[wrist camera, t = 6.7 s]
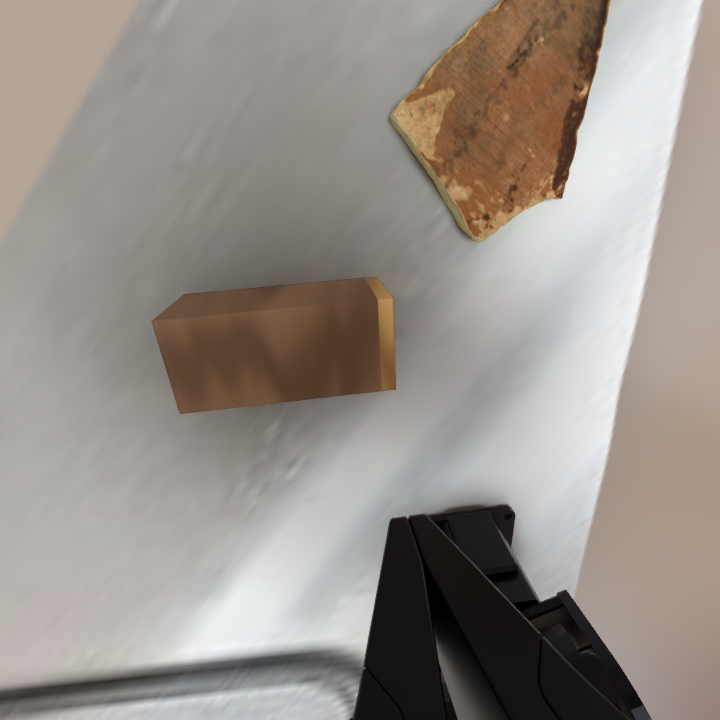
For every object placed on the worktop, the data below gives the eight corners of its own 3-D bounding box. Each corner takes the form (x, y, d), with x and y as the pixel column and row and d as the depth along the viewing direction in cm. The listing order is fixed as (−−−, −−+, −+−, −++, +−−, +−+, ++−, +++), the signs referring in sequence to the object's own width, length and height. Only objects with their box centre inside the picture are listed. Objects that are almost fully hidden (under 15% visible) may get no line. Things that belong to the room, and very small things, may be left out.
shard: (608, -100, 14) (646, -137, 13) (673, 94, 17) (711, 85, 16) (379, 113, 16) (387, 105, 15) (473, 255, 19) (488, 262, 17)
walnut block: (396, 389, 16) (179, 413, 16) (380, 353, 20) (204, 371, 19) (392, 297, 15) (151, 321, 14) (377, 276, 18) (184, 294, 18)
